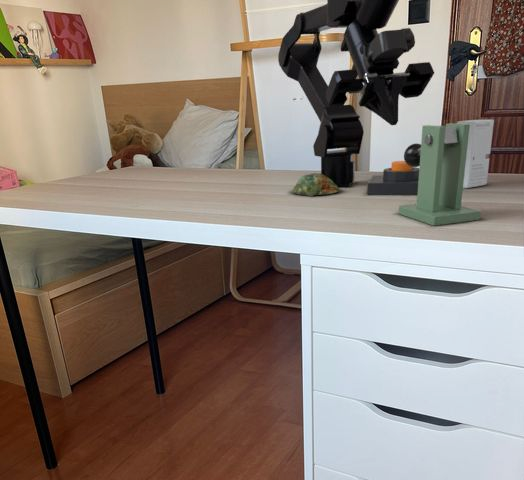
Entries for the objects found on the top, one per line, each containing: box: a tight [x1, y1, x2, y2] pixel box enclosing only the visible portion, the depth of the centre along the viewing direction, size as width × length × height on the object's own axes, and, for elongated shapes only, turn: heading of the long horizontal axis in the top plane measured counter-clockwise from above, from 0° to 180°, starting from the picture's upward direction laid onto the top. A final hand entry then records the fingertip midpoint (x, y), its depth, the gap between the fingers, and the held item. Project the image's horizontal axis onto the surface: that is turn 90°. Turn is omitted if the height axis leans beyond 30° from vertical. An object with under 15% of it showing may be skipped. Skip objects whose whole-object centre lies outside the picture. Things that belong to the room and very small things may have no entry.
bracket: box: [398, 122, 482, 227], centre depth 80 cm, size 10×8×13 cm
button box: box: [366, 167, 419, 196], centre depth 104 cm, size 12×10×4 cm
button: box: [390, 160, 412, 171], centre depth 103 cm, size 4×4×2 cm
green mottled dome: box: [291, 173, 340, 197], centre depth 107 cm, size 10×4×10 cm
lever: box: [403, 126, 458, 168], centre depth 82 cm, size 11×4×4 cm, turn 18°
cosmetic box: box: [456, 119, 495, 189], centre depth 103 cm, size 6×4×12 cm
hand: (395, 123), depth 91 cm, fingers closed
